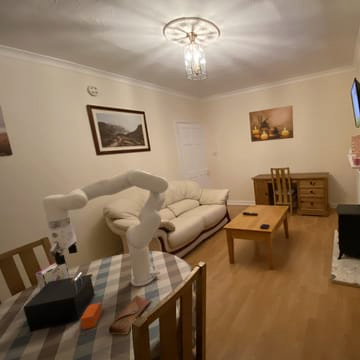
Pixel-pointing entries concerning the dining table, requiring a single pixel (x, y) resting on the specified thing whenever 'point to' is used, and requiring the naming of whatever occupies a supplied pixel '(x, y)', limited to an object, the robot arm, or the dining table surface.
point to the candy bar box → (52, 274)
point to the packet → (91, 316)
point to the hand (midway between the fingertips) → (67, 258)
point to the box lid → (59, 290)
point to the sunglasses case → (128, 316)
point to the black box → (59, 310)
